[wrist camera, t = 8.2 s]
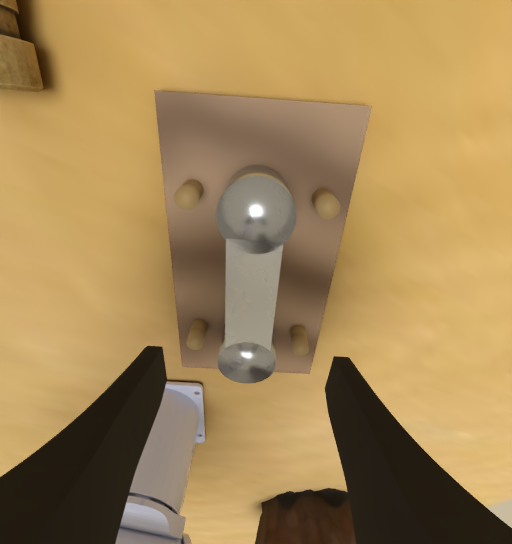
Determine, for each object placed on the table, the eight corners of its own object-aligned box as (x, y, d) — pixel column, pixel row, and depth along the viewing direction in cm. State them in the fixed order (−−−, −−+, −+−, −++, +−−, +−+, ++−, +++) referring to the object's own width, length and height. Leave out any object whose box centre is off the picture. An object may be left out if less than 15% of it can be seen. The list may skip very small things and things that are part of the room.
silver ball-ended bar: (271, 351, 23) (273, 384, 20) (222, 348, 23) (217, 381, 20) (294, 167, 16) (301, 179, 13) (223, 162, 16) (215, 174, 13)
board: (308, 364, 25) (313, 394, 23) (185, 357, 25) (176, 386, 22) (365, 106, 15) (387, 105, 12) (160, 91, 15) (139, 87, 12)
